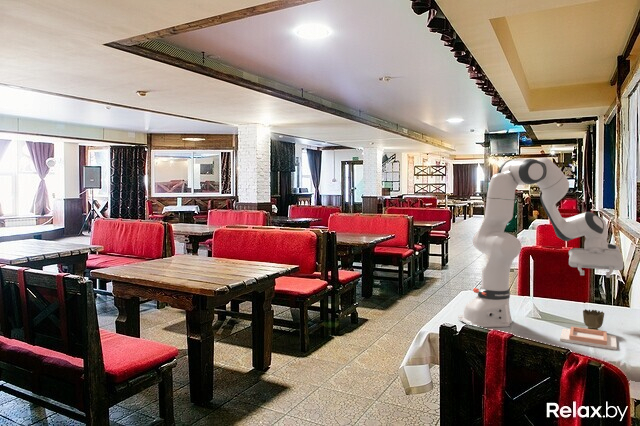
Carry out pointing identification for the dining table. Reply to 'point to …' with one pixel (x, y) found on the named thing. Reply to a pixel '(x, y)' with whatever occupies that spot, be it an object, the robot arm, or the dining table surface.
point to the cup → (593, 319)
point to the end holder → (589, 337)
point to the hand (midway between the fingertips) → (595, 275)
